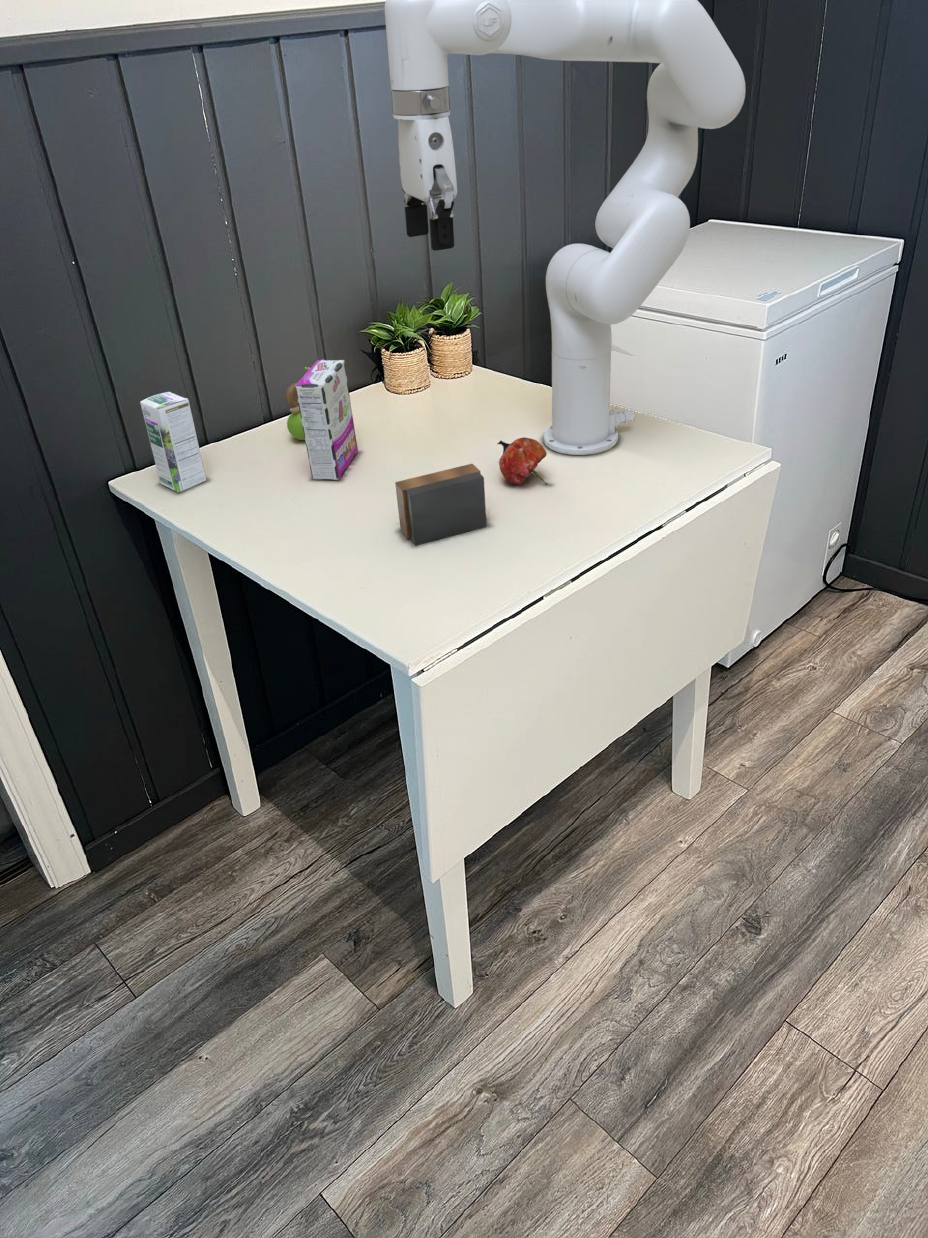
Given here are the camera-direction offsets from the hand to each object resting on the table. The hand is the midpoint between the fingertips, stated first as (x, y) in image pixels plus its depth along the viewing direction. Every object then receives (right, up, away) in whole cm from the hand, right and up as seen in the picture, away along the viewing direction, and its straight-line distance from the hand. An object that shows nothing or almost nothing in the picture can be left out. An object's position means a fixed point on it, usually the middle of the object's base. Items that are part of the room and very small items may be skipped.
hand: (430, 241), depth 133 cm
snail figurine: (-23, -21, +36) cm, 48 cm away
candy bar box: (-17, -28, +26) cm, 41 cm away
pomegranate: (+14, -31, +17) cm, 38 cm away
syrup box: (-42, -30, +24) cm, 57 cm away
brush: (+2, -40, +5) cm, 40 cm away
